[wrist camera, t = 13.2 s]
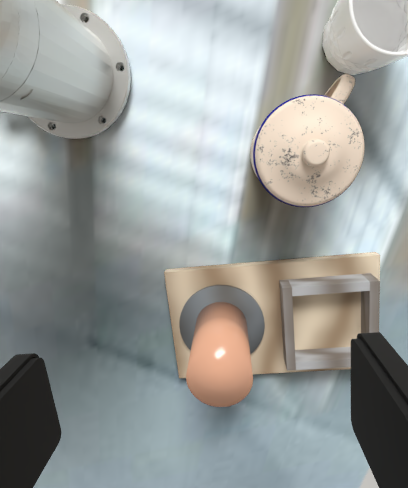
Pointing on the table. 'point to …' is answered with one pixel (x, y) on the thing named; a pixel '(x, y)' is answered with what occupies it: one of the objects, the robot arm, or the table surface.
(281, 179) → the teacup with lid
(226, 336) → the peach rounded peg
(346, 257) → the board
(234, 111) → the table surface
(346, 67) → the white cup
